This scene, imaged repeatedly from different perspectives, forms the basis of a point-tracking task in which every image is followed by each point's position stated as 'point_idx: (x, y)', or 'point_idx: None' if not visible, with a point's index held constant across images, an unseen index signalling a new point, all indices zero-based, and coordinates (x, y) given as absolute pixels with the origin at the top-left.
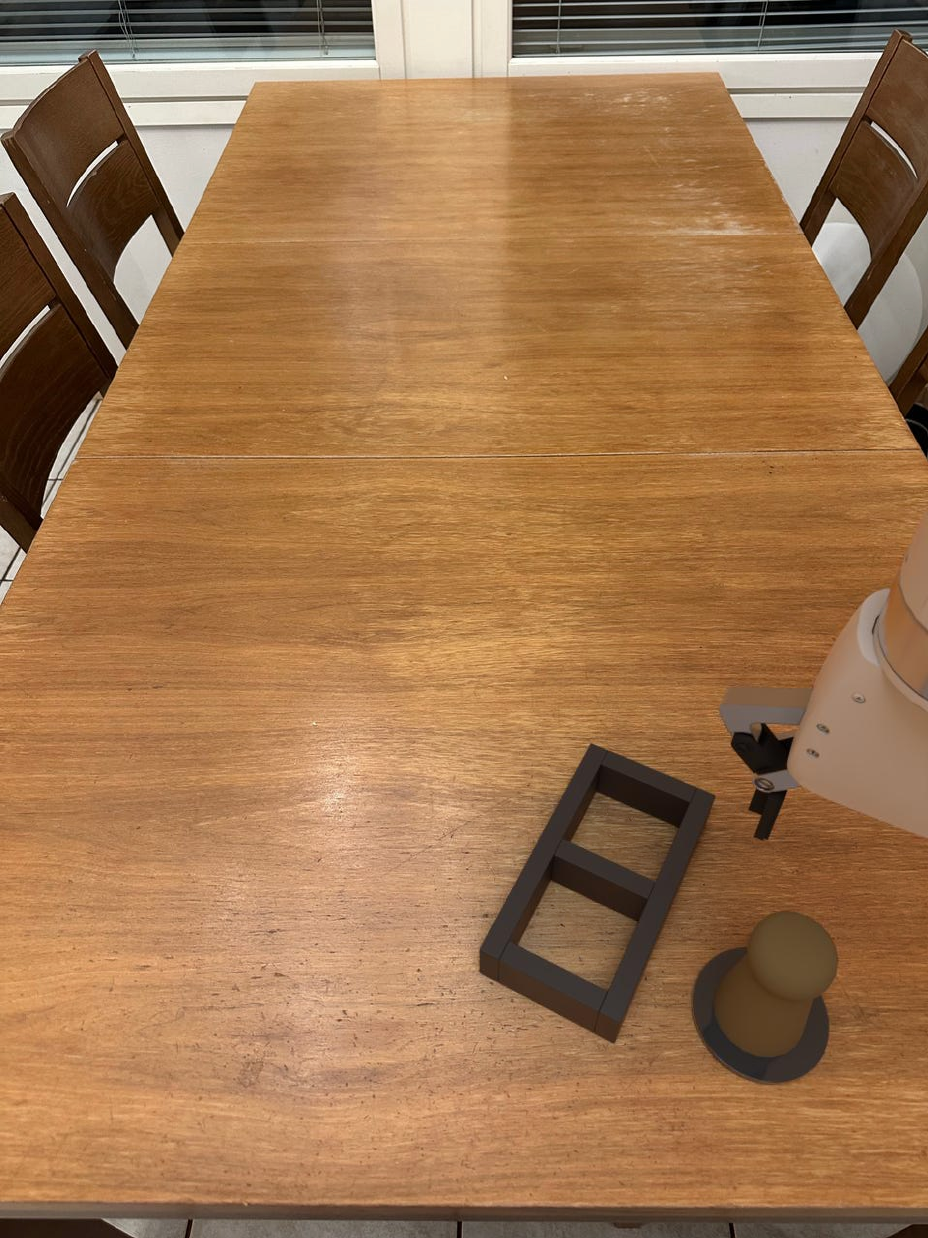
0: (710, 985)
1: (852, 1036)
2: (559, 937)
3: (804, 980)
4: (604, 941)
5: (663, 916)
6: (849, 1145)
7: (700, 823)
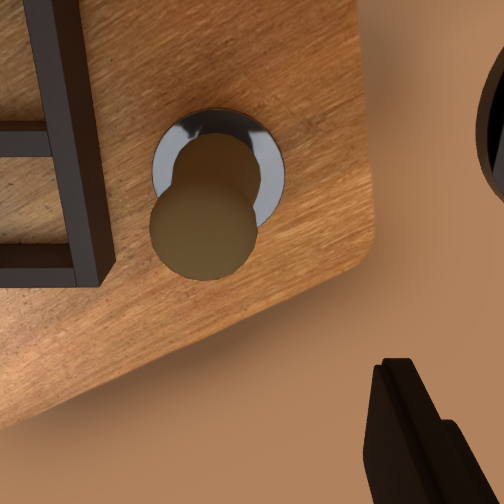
0: (165, 177)
1: (306, 153)
2: (16, 197)
3: (222, 274)
4: (56, 179)
5: (77, 169)
6: (320, 243)
7: (49, 13)
